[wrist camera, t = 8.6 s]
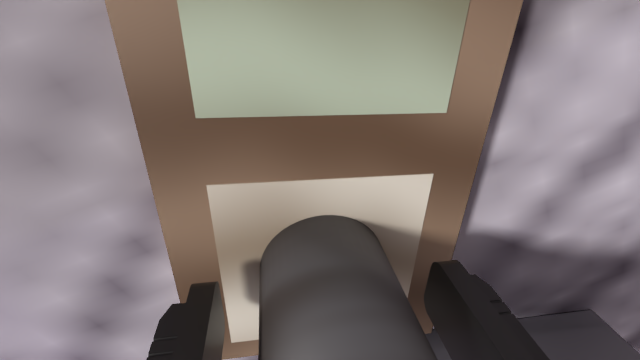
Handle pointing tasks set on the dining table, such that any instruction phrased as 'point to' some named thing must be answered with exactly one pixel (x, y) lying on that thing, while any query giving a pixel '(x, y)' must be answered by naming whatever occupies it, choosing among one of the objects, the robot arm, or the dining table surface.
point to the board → (309, 128)
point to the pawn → (334, 297)
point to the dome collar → (566, 338)
